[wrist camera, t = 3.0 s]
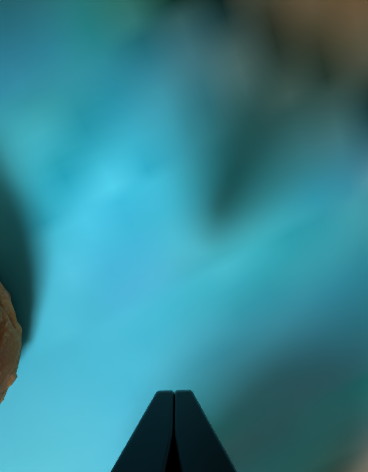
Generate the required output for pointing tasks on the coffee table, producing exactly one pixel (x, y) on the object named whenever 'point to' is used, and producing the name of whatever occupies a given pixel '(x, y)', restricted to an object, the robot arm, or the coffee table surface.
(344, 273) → the coffee table surface
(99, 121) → the coffee table surface
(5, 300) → the bread roll
